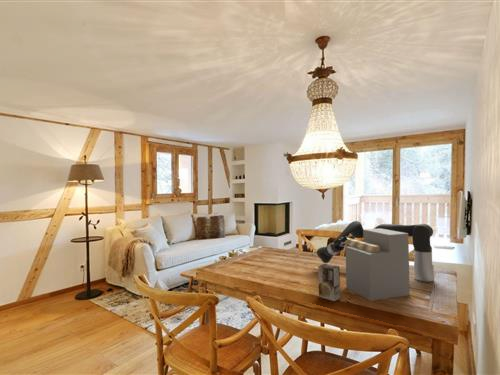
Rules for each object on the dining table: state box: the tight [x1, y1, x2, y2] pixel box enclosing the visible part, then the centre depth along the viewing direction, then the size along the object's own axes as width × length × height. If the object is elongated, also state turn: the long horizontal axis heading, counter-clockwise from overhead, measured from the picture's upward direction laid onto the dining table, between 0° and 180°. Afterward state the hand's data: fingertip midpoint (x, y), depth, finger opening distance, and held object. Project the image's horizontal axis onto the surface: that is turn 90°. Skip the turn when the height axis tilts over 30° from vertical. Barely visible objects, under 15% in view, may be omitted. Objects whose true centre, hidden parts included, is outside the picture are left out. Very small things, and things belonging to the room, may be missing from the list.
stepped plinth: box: [344, 228, 411, 302], centre depth 151 cm, size 20×24×32 cm
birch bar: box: [342, 236, 380, 253], centre depth 155 cm, size 28×3×3 cm, turn 16°
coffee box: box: [317, 263, 341, 302], centre depth 143 cm, size 9×6×16 cm
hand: (349, 237), depth 163 cm, fingers open, 4 cm apart
